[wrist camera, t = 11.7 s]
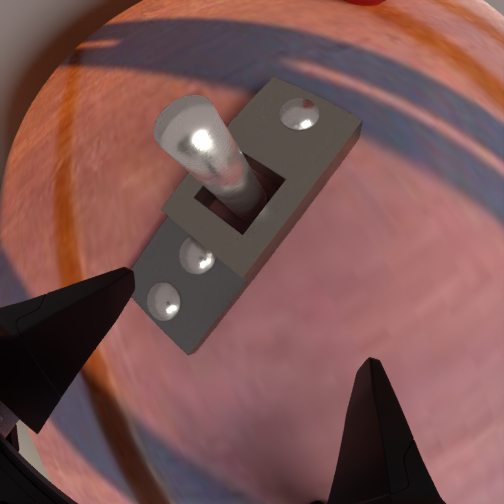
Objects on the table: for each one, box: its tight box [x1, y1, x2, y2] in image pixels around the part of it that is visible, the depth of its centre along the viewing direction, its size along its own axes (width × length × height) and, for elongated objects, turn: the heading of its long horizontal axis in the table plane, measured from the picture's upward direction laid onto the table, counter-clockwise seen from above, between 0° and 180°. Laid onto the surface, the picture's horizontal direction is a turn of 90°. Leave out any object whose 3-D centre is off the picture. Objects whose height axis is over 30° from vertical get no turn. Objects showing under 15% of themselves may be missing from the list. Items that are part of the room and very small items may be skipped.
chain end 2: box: [131, 160, 326, 355], centre depth 23 cm, size 18×9×2 cm, turn 141°
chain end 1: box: [161, 77, 362, 279], centre depth 22 cm, size 16×9×3 cm, turn 141°
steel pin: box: [154, 95, 267, 219], centre depth 18 cm, size 3×3×12 cm
